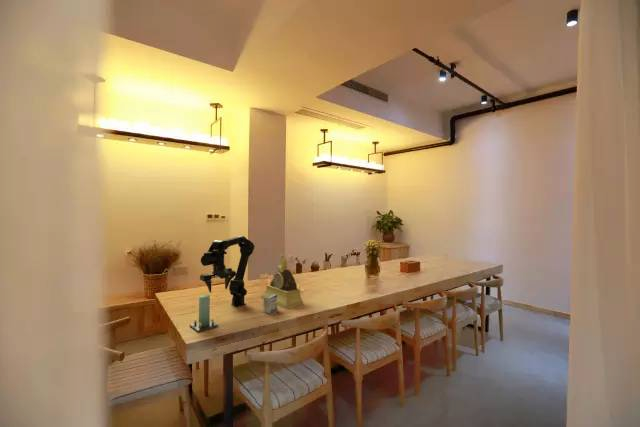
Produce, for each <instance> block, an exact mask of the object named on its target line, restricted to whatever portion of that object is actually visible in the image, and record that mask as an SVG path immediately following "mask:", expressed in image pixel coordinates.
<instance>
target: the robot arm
mask: <svg viewBox="0 0 640 427" xmlns="http://www.w3.org/2000/svg"><path fill="white" fill-rule="evenodd" d="M235 245H237V246H238V247H239V252H240V258H239V261H238V262H239V263H238V266H237V270H233V269H232V267H228V268H227V267H226V264H225V255H227V254H228V252H227V251H226V250H228V249H229V247H231V246H235ZM254 249H255V244H254V242H252V240H249V239H248V238H247V237H246V236H243V235H237V236H234V237H230V238H227V239H218V240H216V239H215V240H213V241H212V243H211V245H210V246H209V248H208V251H207V252H204V253H203V255H201V258H200V263H201V266H204V267H208V266H211V265H212V267H213V268H212V270H213V271H212V272H211V274H209V273H202V274H200V276H199V280H200V281H202V282H204V283H205V285H206V287H207V289H208V292H209V293H212V282H213V280H212V279H215V278H216V279H217V278H219V279H221V280H224V288H225V290H227V289H228V290H229V293H230V296H232V298H231V305H232V306H234V307H235V308H238V307H241V306H246V305H247V304H246V303H245V296H247V295H248V294H247V293H248V290H247V289H246V288H245V282H244V278H245V273H246V270H247V269H246V268H247V266H248V262H249V258H250V256H251V255H252V254H253V253H254Z"/></svg>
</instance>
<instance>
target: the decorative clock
mask: <svg viewBox="0 0 640 427" xmlns="http://www.w3.org/2000/svg"><path fill="white" fill-rule="evenodd" d="M277 271H278V272H275V273H274V275H273V279H272V280H271V281H270V284H266V289H265V291H264V292H263V293H262V294H260V299H262V300H264V298H265V297H267V296H269V295H271V294H275V295H277V307H280V308H283V309H286V310H287V309H292V308H295V307H299V306H301V305H303V304H304V301H303V299H302V296H301V289H300V288H298V287H297V281H296V279H295V277H294V276H293V273H292V271H291V270H289V269H288V260H287V259H286V257H285V255H284V254H280V264H279V265H277Z"/></svg>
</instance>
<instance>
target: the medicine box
mask: <svg viewBox="0 0 640 427" xmlns="http://www.w3.org/2000/svg"><path fill="white" fill-rule="evenodd" d="M277 309H278V305H277V295H275V294H271V295H269V296H267V297H265V298H264V299H263V313H264V314H271V313H273V312H275V311H276V310H277Z"/></svg>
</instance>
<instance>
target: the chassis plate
mask: <svg viewBox="0 0 640 427" xmlns="http://www.w3.org/2000/svg"><path fill="white" fill-rule="evenodd" d="M214 320H215V319H210V324H209V325H208V326H203V327H202V323H199V321H198V322H197V319H196V318H195V319H193V322H194V323H190V324H189V327H190V328H191V329H192V330H194V331H195V332H196V333H197V334H198V333H199V334H200V333H202V332H204V331H208V330H212V329H215V328H218V327H219V324H218V323H217V322H215V321H214Z"/></svg>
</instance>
